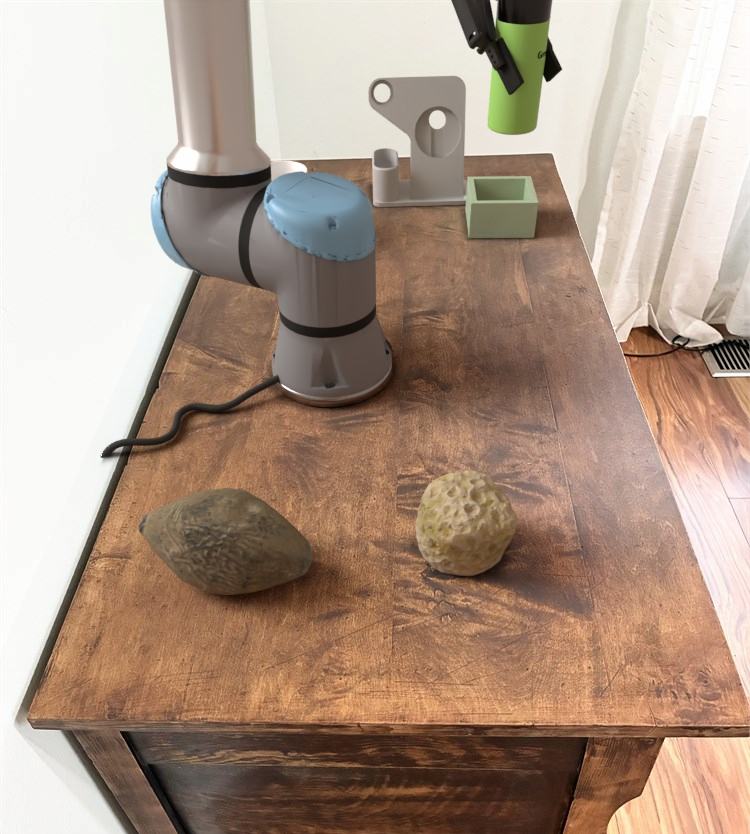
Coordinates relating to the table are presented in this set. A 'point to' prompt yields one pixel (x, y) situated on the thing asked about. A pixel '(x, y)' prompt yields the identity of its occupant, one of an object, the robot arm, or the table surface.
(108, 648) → the table surface
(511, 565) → the table surface
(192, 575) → the stone
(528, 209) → the green open box
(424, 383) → the table surface
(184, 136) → the robot arm
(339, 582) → the table surface
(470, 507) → the coral
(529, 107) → the tumbler
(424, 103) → the phone holder
